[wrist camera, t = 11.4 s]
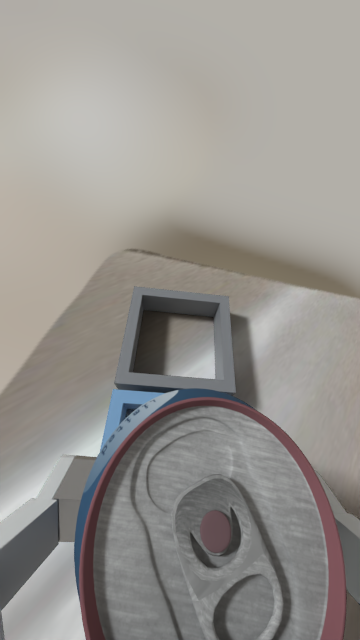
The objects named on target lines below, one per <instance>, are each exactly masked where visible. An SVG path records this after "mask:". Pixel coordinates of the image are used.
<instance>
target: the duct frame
mask: <svg viewBox="0 0 360 640" xmlns="http://www.w3.org/2000/svg"><path fill="white" fill-rule="evenodd" d="M143 310H149V311H159V312H169V313H179V314H189V315H199V316H209V317H214V343H215V376H216V379H204V378H192V377H180V376H168V375H156V374H144V373H133V369H134V363H135V358H136V352H137V346H138V340H139V334H140V328H141V322H142V316H143ZM114 383H115V385H116V387H117V388H118V390H117V389H113V392H112V396H111V401H110V406H109V411H108V416H107V421H106V425H105V430H104V435H103V440H102V445H101V449H102V448H103V446H104V444H105V443H106V441H107V440H108V439H109V437H110V436H111V434H112V433H113V432H114V431H115V429H116V428H117V427H118V426H119V425H120V424H121V423H122V422H123V421H124V419H125V417H126V411H127V409H137V408H139V407H140V406H142V405H143V404H145V403H146V402H148V401H150V400H151V399H153V398H156V397H158V396H160V395H163V394H165V393H168V392H172V391H176V390H181V389H190V388H200V389H210V390H215V391H219V392H223V393H226V394H228V395H231V396H232V395H233V394H235V393H236V388H235V374H234V361H233V348H232V335H231V322H230V309H229V296H220V295H211V294H201V293H192V292H182V291H173V290H164V289H154V288H145V287H135V286H134V290H133V295H132V300H131V305H130V309H129V314H128V319H127V324H126V329H125V334H124V338H123V343H122V348H121V353H120V358H119V363H118V367H117V372H116V377H115V382H114ZM100 451H101V450H100Z"/></svg>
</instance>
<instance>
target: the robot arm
mask: <svg viewBox="0 0 360 640" xmlns="http://www.w3.org/2000/svg"><path fill="white" fill-rule="evenodd" d="M96 458H97V457H87V456H73V455H62V456H61V457H60V458H59V459H58V461H57V463H56V465H55V466H54V468H53V470H52V471H51V473H50V475H49V477H48V478H47V480H46V482H45V483H44V485H43V487H42V489H41V490H40V492H39V494H38V495H37V497H36V498H31V499H30V500H28V501H27V502H26V503H25V504H23V505H22V506H21V507H19V508H18V509H17V510H15V511H14V512H13V513H12V514H10V515H9V516H8V517H6V518H5V519H4V520H2V521H1V522H0V640H5V639H4V630H3V622H2V614H1V610H2V609H3V608H4V607H5V606H6V605H7V603H8V602H9V601H10V600H11V599H12V598H13V596H14V595H15V594H16V593H17V592H18V591H19V589H20V588H21V587H22V586H23V585H24V584H25V582H26V581H27V580H28V579H29V578H30V577H31V575H32V574H33V573H34V572H35V571H36V570H37V568H38V567H39V566H40V565H41V564H42V563H43V561H44V560H45V559H46V558H47V557H48V556H49V554H50V553H51V552H52V551H53V550H54V549H55V547H56V546H57V545H58V542H75V530H76V523H77V516H78V511H79V506H80V502H81V498H82V494H83V491H84V488H85V485H86V482H87V479H88V476H89V474H90V471H91V469H92V467H93V465H94V462H95V460H96ZM314 471H315V470H314ZM315 473H316V475H317V476H318V478H319V480H320V482H321V484H322V486H323V488H324V491H325V493H326V495H327V498H328V500H329V503H330V506H331V508H332V511H333V514H334V517H335V521H336V524H337V528H338V532H339V536H340V540H341V545H342V550H343V557H344V564H345V574H346V590H347V591H348V592H349V593H350V594H351V595H352V597H353V598H354V599H355V600H356V601H357V602H358V604H359V605H360V520H359V519H357V518H356V517H355V516H354V515H352V514H349V513H347V512H346V511H345V510H344V508H343V507H342V505H341V504H340V503H339V501H338V500H337V498H336V497H335V496H334V494H333V493H332V491H331V490H330V488H329V487H328V486H327V484H326V483H325V481H324V480H323V479H322V477H321V476H320V474H319V473H318V472H317V471H315Z"/></svg>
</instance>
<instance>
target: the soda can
mask: <svg viewBox="0 0 360 640" xmlns="http://www.w3.org/2000/svg"><path fill="white" fill-rule="evenodd" d="M74 561H75V575H76V583H77V590H78V595H79V600H80V605H81V613H82V621H83V626H84V631H85V637H86V640H343V637H344V630H345V620H346V599H347V595H346V574H345V564H344V557H343V550H342V545H341V540H340V536H339V532H338V528H337V524H336V521H335V517H334V514H333V511H332V508H331V506H330V503H329V500H328V498H327V495H326V493H325V491H324V488H323V486H322V484H321V482H320V480H319V478H318V476H317V475H316V473H315V471H314V469H313V468H312V466H311V464H310V463H309V461H308V460H307V458H306V457H305V455H304V454H303V453H302V451H301V450H300V449H299V447H298V446H297V445H296V444H295V442H294V441H293V440H292V439H291V438H290V437H289V436H288V435H287V434H286V433H285V432H284V431H283V430H282V429H281V428H280V427H279V426H278V425H276V424H275V423H274V422H273V421H271V420H270V419H269V418H267V417H266V416H264V415H263V414H261V413H260V412H258V411H257V410H255V409H254V408H253V407H251V406H250V405H248V404H247V403H245V402H243V401H241V400H240V399H238V398H235V397H233V396H231V395H228V394H226V393H223V392H219V391H215V390H210V389H200V388H190V389H181V390H176V391H172V392H168V393H165V394H163V395H160V396H158V397H156V398H153V399H151V400H150V401H148V402H146V403H145V404H143V405H142V406H140V407H139V408H137V409H136V410H135V411H133V412H132V413H131V414H130V415H129V416H128V417H127V418H126V419H124V421H123V422H122V423H121V424H120V425H119V426H118V427H117V428H116V429H115V431H114V432H113V433H112V434H111V436H110V437H109V439H108V440H107V441H106V443H105V444H104V446H103V448H102V449H101V451H100V453H99V455H98V457H97V458H96V460H95V462H94V465H93V467H92V469H91V471H90V474H89V476H88V479H87V482H86V485H85V488H84V491H83V494H82V498H81V502H80V506H79V511H78V516H77V523H76V530H75V544H74Z"/></svg>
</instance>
